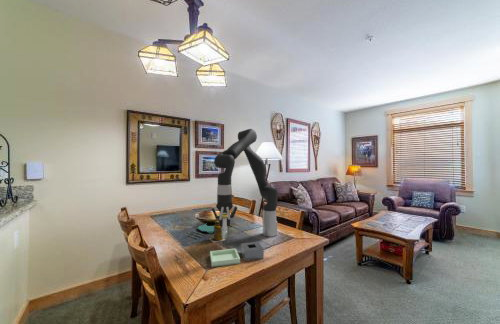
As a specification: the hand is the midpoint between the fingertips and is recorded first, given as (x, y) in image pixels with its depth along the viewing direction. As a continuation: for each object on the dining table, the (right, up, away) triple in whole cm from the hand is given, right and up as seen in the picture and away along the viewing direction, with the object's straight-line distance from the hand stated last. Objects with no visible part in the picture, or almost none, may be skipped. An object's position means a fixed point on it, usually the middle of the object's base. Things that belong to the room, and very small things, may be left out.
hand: (224, 226), depth 107 cm
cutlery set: (-19, -18, +43) cm, 51 cm away
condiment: (-8, -17, +27) cm, 33 cm away
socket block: (+14, -17, +5) cm, 23 cm away
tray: (0, -17, 0) cm, 17 cm away
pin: (0, -6, 0) cm, 6 cm away
